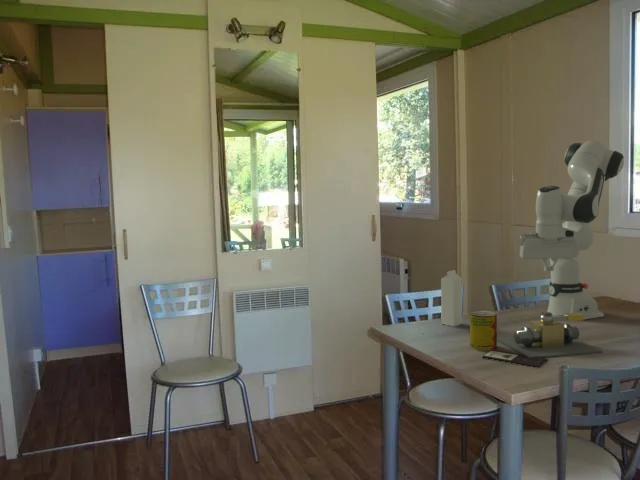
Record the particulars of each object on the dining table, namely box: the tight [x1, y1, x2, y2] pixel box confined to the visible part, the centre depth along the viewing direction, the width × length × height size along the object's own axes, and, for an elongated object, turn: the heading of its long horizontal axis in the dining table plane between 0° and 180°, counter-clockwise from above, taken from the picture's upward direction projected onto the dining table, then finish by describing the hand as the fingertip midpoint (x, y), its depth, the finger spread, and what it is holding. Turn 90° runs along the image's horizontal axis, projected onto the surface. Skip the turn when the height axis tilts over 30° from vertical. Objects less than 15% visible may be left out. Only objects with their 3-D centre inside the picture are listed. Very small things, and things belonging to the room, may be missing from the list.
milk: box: [440, 269, 463, 327], centre depth 234 cm, size 6×6×22 cm
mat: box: [497, 336, 603, 358], centre depth 201 cm, size 26×23×1 cm
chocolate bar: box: [481, 349, 548, 368], centre depth 188 cm, size 9×1×18 cm
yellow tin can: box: [469, 309, 498, 351], centre depth 202 cm, size 9×9×12 cm
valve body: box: [513, 319, 580, 348], centre depth 201 cm, size 22×8×8 cm, turn 100°
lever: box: [540, 311, 585, 323], centre depth 201 cm, size 15×4×3 cm, turn 98°
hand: (548, 270), depth 207 cm, fingers closed
